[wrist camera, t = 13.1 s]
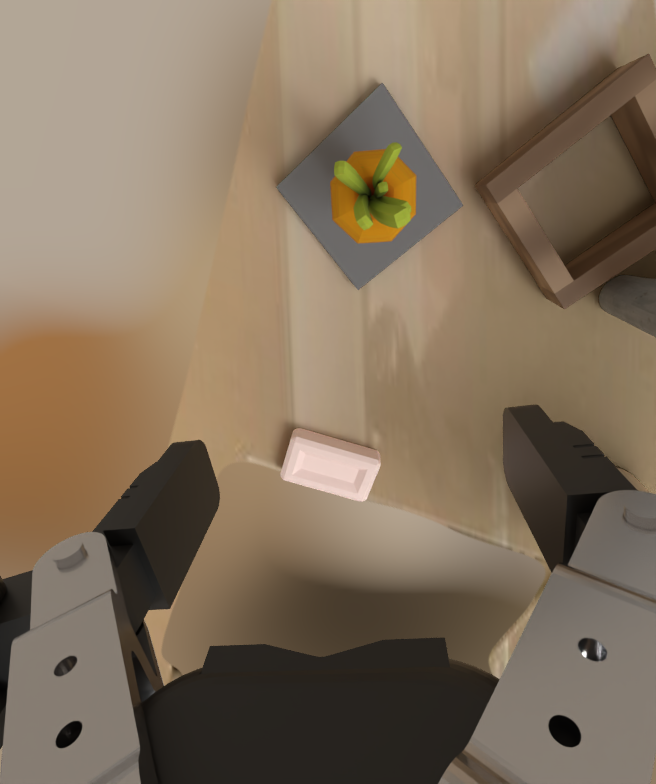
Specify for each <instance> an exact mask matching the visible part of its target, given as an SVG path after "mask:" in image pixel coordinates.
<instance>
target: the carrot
mask: <svg viewBox="0 0 656 784" xmlns="http://www.w3.org/2000/svg"><path fill="white" fill-rule="evenodd" d="M401 149H402V146H401V145H400V144H399V143H397V142H394V143H391V144H389V145H388V147H387V148H386V149H379V150H367V151H356V152H353V154H352V155H351V156H350V157H349V159H348V160H347V161H337V162H335V165H334V175H335V177H334V178H333V179H332V180H331V182H330V188H331V205H332V220H333V221H334V222H335V223H336V224H337V225H338V226H339V227H340V228H342V229H343V230H344V231H345V232H346V233H347V234H348V235H349V236H350V237H351V238H352V239H353V240H354V241H355V242H356V243H357V244H360V243H375V242H391V241H392V240H393V239H394V238H395V237H396V236H397V235H398V234H399V232H400V231H401V230H402V229H403V228H404V227H405V226H406V225H407V223H409V222H410V221H411V219H412V218H413V217H414V216H415V215H416V174H415V173H414V172H413V171H412V170H411V169H410V168H409V167H408V166H407V165H406V164H405V163H404V162H403V161H402V160H401V159H400V158H399V157H398V155H399V153H400V151H401Z"/></svg>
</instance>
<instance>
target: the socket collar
mask: <svg viewBox="0 0 656 784" xmlns="http://www.w3.org/2000/svg"><path fill="white" fill-rule="evenodd" d="M610 115H611V116H612V118H613V120H614V122H615V124H616V126H617V128H618V130H619V132H620V134H621V136H622V138H623V140H624V142H625V144H626V146H627V148H628V150H629V152H630V154H631V156H632V158H633V160H634V162H635V164H636V166H637V168H638V170H639V172H640V174H641V176H642V178H643V180H644V182H645V183H646V185H647V187H648V189H649V191H650V193H651V195H652V197H653V199H654V201H655V203H654V204H653V205H651V206H650V207H648V208H647V209H645V210H644V211H643V212H641V213H640V214H638V215H637V216H635V217H634V218H632V219H631V220H630V221H628V222H627V223H625V224H624V225H622V226H621V227H619V228H618V229H617V230H615V231H614V232H612V233H611V234H609V235H608V236H606V237H605V238H604V239H602V240H601V241H599V242H598V243H596V244H595V245H593V246H592V247H591V248H589V249H588V250H586V251H585V252H583V253H582V254H580V255H579V256H578V257H576V258H575V259H573V260H572V261H570V262H569V263H567V264H566V265H564V264H563V262H562V260H561V259H560V257H559V256H558V254H557V252H556V251H555V249H554V247H553V246H552V244H551V242H550V241H549V239H548V237H547V236H546V234H545V233H544V231H543V229H542V228H541V226H540V224H539V223H538V221H537V219H536V218H535V216H534V214H533V213H532V211H531V210H530V208H529V206H528V205H527V203H526V201H525V200H524V198H523V196H522V195H521V193H520V191H519V190H518V187H520V186H521V185H522V184H523V183H525V182H526V181H527V180H528V179H530V178H531V177H532V176H534V175H535V174H536V173H537V172H539V171H540V170H541V169H543V168H544V167H545V166H546V165H548V164H549V163H550V162H551V161H553V160H554V159H555V158H557V157H558V156H559V155H560V154H562V153H563V152H564V151H565V150H567V149H568V148H569V147H571V146H572V145H573V144H574V143H576V142H577V141H578V140H580V139H581V138H582V137H583V136H585V135H586V134H587V133H588V132H590V131H591V130H592V129H594V128H595V127H596V126H597V125H599V124H600V123H601V122H602V121H604V120H605V119H606V118H608V117H609V116H610ZM474 186H475V188H476V189H477V191H478V192H479V194H480V195H481V197H482V198H483V200H484V202H485V203H486V205H487V206H488V208H489V209H490V211H491V212H492V214H493V216H494V217H495V219H496V220H497V222H498V223H499V225H500V227H501V228H502V230H503V231H504V233H505V234H506V236H507V237H508V239H509V241H510V242H511V244H512V245H513V247H514V248H515V250H516V251H517V253H518V255H519V256H520V258H521V259H522V261H523V262H524V264H525V265H526V267H527V269H528V270H529V272H530V273H531V275H532V276H533V278H534V280H535V281H536V283H537V284H538V286H539V287H540V289H541V290H542V292H543V294H544V295H545V297H546V298H547V299H548V300H550V301H552V302H553V303H555V304H557V305H558V306H560V307H562V308H563V309H566V308H567V307H569V306H570V305H572V304H573V303H575V302H576V301H578V300H579V299H581V298H582V297H584V296H585V295H587V294H588V293H590V292H591V291H593V290H594V289H596V288H597V287H599V286H601V285H602V284H604V283H605V282H607V281H608V280H610V279H611V278H613V277H614V276H616V275H617V274H619V273H620V272H622V271H623V270H625V269H626V268H628V267H629V266H631V265H632V264H634V263H636V262H637V261H639V260H640V259H642V258H643V257H645V256H646V255H648V254H649V253H651V252H652V251H654V250H655V249H656V68H655V66H654V64H653V61H652V59H651V57H650V55H649V54H647V55H645V56H643V57H641V58H639V59H636V60H634V61H632V62H630V63H628V64H626V65H624V66H622V67H619V68H617V69H616V70H615V71H614V72H613V73H611V74H610V75H609V76H608V77H606V78H605V79H604V80H603V81H602V82H600V83H599V84H598V85H597V86H595V87H594V88H593V89H592V90H591V91H589V92H588V93H587V94H586V95H584V96H583V97H582V98H581V99H579V100H578V101H577V102H576V103H575V104H573V105H572V106H571V107H570V108H568V109H567V110H566V111H565V112H564V113H562V114H561V115H560V116H559V117H557V118H556V119H555V120H554V121H553V122H551V123H550V124H549V125H548V126H546V127H545V128H544V129H543V130H541V131H540V132H539V133H538V134H537V135H535V136H534V137H533V138H532V139H530V140H529V141H528V142H527V143H526V144H524V145H523V146H522V147H521V148H519V149H518V150H517V151H516V152H515V153H513V154H512V155H511V156H510V157H508V158H507V159H506V160H505V161H503V162H502V163H501V164H500V165H499V166H497V167H496V168H495V169H494V170H492V171H491V172H490V173H489V174H488V175H486V176H485V177H484V178H483V179H481V180H480V181H479V182H478V183H477V184H475V185H474Z"/></svg>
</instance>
